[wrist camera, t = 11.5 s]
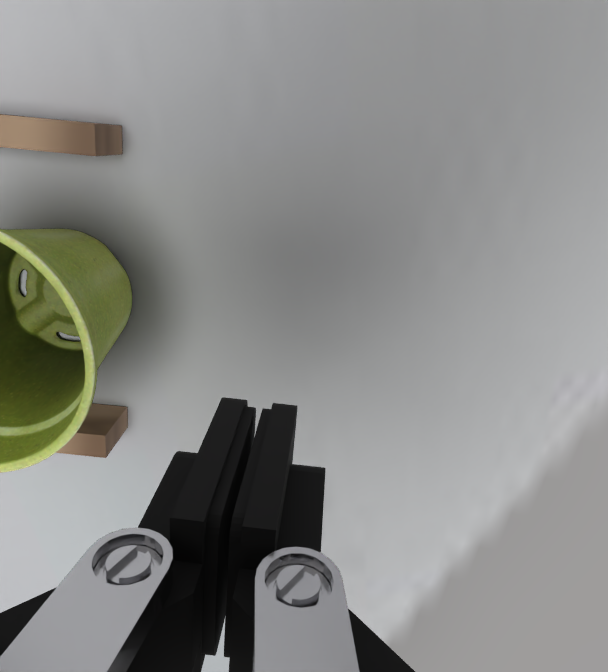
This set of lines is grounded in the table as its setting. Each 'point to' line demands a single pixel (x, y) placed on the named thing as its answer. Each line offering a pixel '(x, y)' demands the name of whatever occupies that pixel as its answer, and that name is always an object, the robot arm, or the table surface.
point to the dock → (80, 139)
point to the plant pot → (53, 336)
